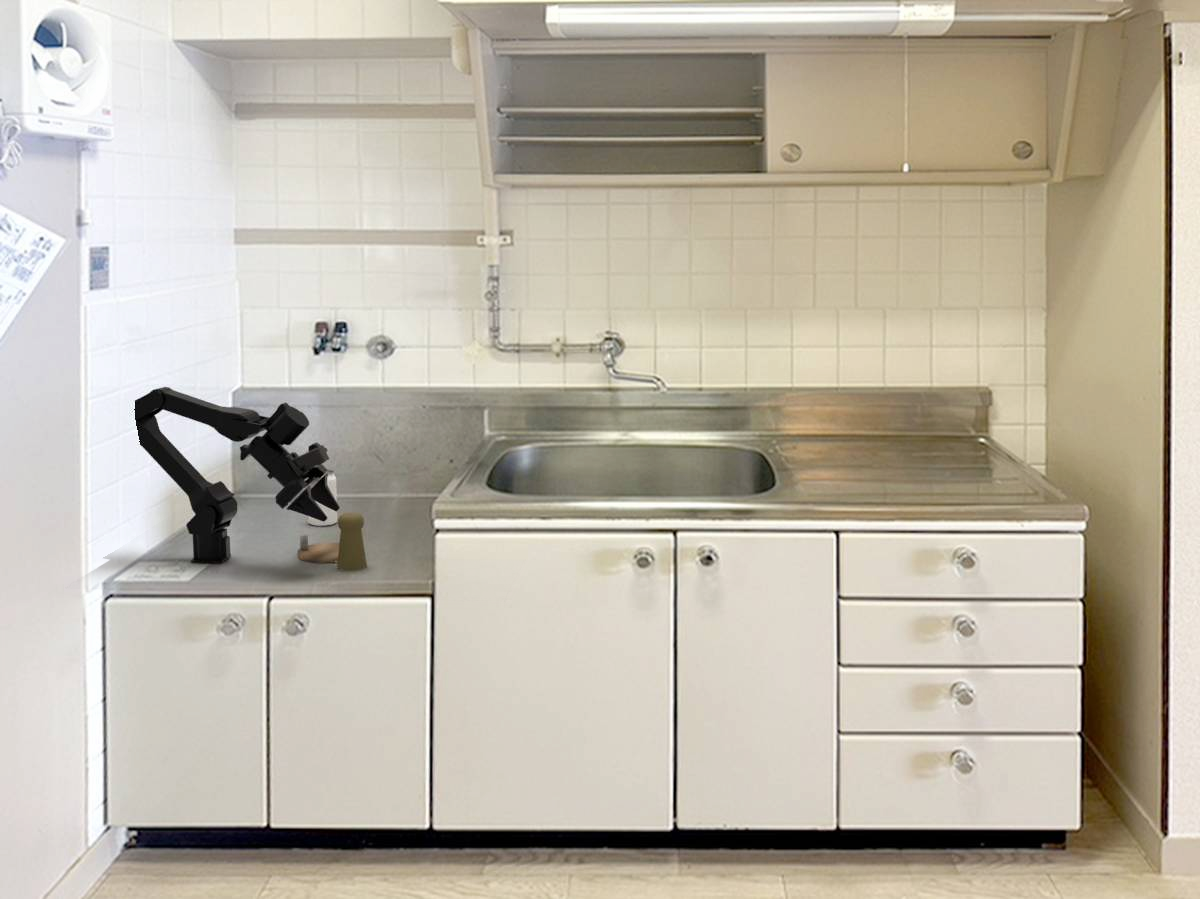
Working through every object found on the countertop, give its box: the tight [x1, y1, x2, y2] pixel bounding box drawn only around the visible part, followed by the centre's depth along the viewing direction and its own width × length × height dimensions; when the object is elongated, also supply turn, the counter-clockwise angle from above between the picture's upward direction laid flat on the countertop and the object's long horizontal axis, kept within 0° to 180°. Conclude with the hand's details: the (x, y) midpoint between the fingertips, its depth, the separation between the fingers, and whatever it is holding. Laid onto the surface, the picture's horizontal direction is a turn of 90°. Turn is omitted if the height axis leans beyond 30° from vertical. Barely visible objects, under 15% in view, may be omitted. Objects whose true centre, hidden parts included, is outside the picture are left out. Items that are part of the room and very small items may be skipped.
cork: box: [336, 512, 368, 571], centre depth 289 cm, size 6×6×11 cm
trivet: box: [296, 534, 340, 563], centre depth 298 cm, size 13×13×4 cm
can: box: [307, 469, 338, 527], centre depth 325 cm, size 6×6×12 cm
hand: (332, 514), depth 288 cm, fingers open, 9 cm apart
